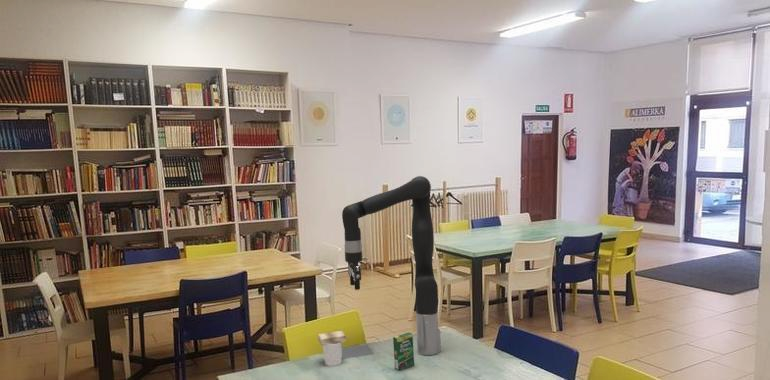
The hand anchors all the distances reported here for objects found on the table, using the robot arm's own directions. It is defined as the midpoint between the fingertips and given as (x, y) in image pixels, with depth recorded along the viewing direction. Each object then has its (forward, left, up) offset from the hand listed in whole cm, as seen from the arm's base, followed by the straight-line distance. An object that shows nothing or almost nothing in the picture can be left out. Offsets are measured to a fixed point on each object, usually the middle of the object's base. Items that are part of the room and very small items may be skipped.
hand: (355, 287), depth 212 cm
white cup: (+13, +11, -28) cm, 33 cm away
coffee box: (-13, +25, -28) cm, 40 cm away
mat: (+2, +3, -28) cm, 28 cm away
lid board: (+13, +11, -18) cm, 25 cm away
